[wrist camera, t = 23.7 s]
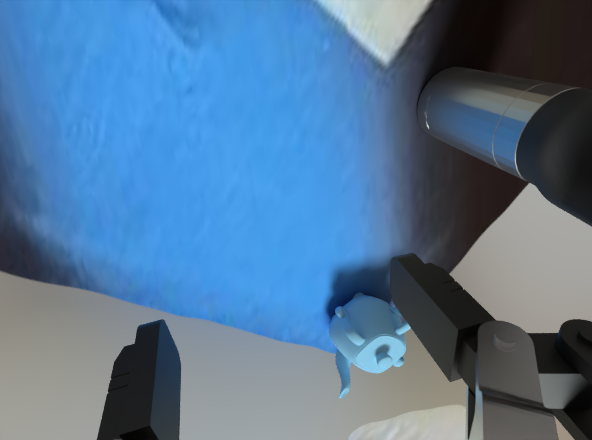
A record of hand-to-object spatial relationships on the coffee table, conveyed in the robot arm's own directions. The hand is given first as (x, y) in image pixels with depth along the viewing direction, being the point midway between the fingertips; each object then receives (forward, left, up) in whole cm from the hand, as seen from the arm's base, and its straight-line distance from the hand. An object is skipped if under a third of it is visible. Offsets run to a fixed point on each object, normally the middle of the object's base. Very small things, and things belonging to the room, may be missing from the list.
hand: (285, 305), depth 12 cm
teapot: (-15, +40, -34) cm, 55 cm away
